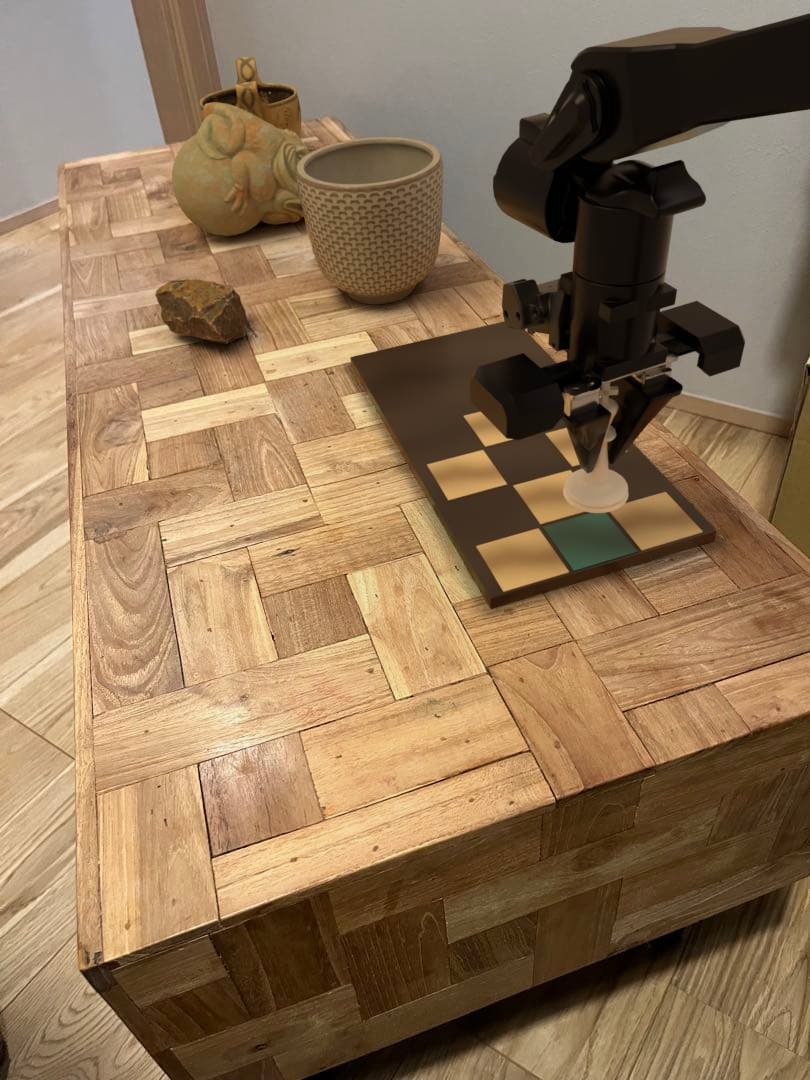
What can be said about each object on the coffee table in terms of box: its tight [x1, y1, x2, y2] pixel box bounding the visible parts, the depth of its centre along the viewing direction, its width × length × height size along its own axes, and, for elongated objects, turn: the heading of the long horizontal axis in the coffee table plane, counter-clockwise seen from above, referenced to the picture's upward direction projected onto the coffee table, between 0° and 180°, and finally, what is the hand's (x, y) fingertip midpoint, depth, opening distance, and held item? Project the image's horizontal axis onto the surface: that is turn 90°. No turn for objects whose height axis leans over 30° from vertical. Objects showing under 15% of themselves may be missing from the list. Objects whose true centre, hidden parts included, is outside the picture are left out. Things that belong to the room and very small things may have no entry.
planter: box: [296, 136, 444, 305], centre depth 101 cm, size 17×17×16 cm
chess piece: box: [563, 382, 628, 513], centre depth 60 cm, size 5×5×10 cm
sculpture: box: [171, 102, 311, 237], centre depth 120 cm, size 18×20×20 cm
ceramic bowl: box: [199, 56, 302, 138], centre depth 142 cm, size 22×17×15 cm
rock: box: [154, 279, 247, 345], centre depth 98 cm, size 14×6×10 cm
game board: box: [349, 321, 718, 609], centre depth 80 cm, size 40×20×1 cm, turn 19°
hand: (598, 465), depth 62 cm, fingers closed on chess piece
